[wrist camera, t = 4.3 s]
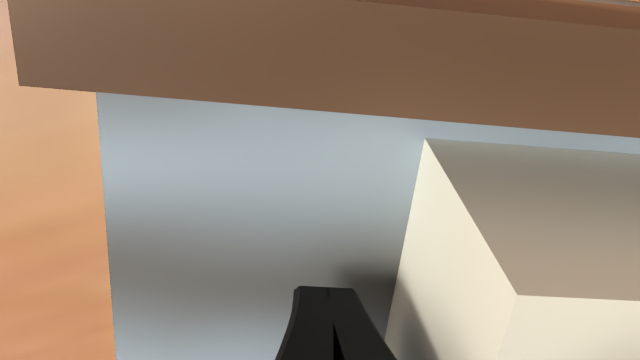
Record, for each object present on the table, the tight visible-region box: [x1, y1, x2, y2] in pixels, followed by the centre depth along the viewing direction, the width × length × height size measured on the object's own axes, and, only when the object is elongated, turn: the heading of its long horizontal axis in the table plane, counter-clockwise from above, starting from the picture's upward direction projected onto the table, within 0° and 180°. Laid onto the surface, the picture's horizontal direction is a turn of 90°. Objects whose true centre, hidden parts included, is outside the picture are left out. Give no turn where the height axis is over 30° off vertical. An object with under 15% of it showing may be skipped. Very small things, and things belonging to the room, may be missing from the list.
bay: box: [7, 0, 640, 360], centre depth 13 cm, size 14×24×4 cm, turn 84°
